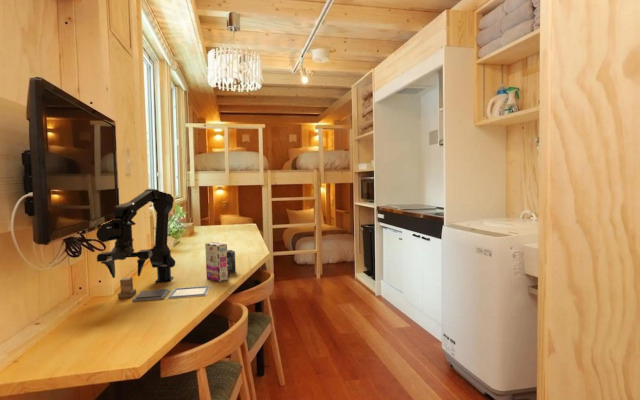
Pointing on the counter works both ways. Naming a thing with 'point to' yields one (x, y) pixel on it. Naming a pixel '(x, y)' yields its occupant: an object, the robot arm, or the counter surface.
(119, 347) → the counter surface
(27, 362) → the counter surface
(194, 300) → the counter surface
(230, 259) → the box
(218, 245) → the candy bar box
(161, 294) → the ink pad
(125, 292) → the stamp
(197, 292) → the marked sheet
